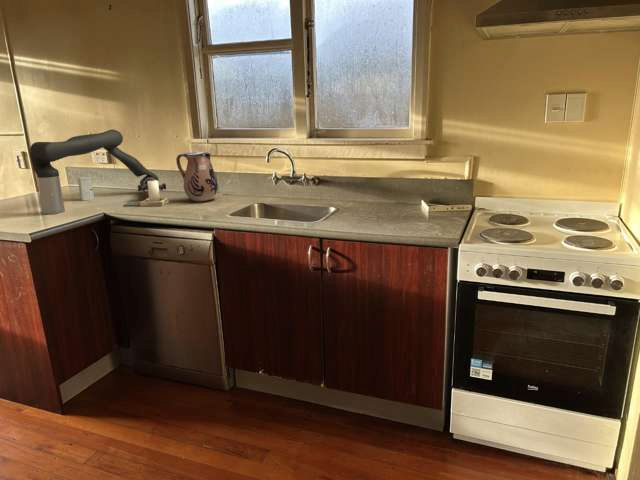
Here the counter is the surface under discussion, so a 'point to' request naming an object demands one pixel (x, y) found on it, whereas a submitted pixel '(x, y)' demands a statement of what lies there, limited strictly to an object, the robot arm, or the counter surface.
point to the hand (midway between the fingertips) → (152, 189)
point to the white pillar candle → (153, 190)
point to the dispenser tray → (156, 203)
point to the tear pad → (132, 203)
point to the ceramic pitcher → (198, 176)
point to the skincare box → (85, 188)
